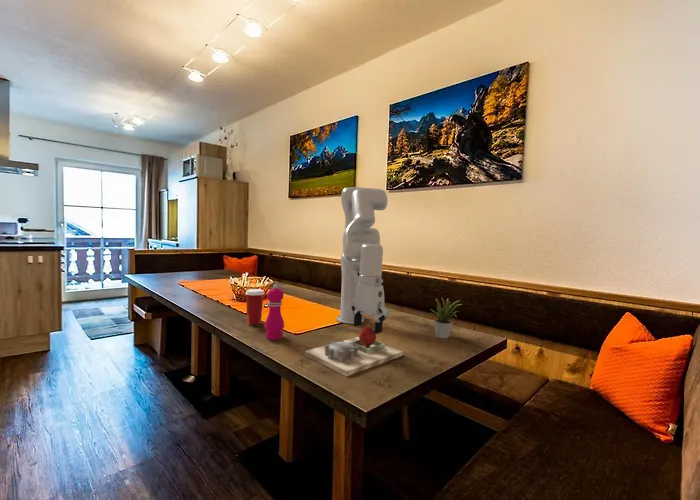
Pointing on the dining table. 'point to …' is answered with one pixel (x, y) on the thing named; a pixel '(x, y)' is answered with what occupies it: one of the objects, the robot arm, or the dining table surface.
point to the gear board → (352, 355)
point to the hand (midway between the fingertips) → (367, 329)
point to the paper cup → (254, 306)
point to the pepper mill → (274, 314)
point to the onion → (367, 336)
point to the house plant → (443, 318)
